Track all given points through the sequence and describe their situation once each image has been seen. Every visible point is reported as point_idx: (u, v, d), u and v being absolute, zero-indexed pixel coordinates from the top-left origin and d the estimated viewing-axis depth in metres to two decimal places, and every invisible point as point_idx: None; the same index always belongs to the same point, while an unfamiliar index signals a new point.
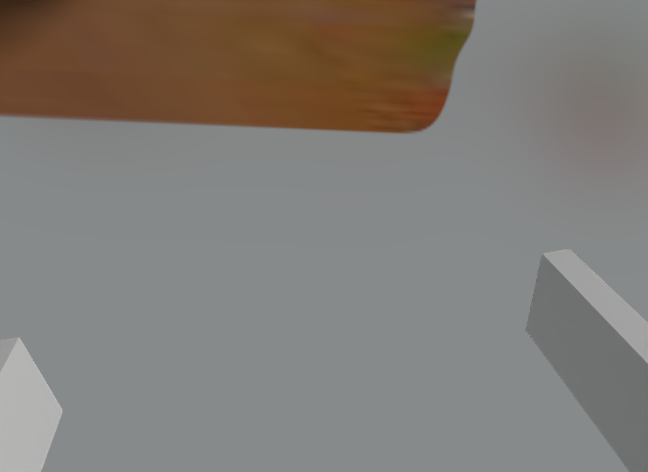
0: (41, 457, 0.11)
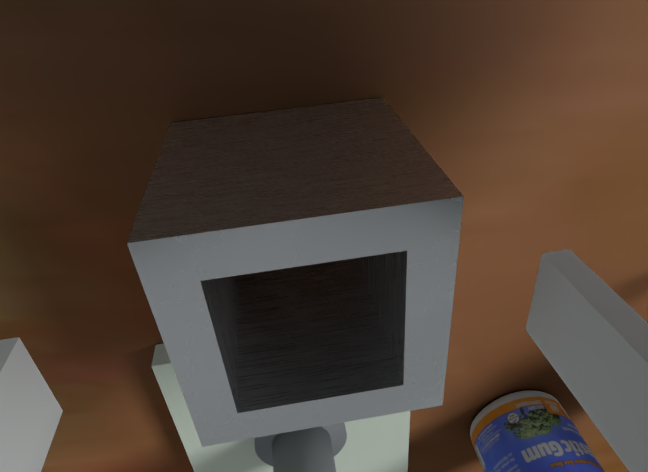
0: (41, 457, 0.11)
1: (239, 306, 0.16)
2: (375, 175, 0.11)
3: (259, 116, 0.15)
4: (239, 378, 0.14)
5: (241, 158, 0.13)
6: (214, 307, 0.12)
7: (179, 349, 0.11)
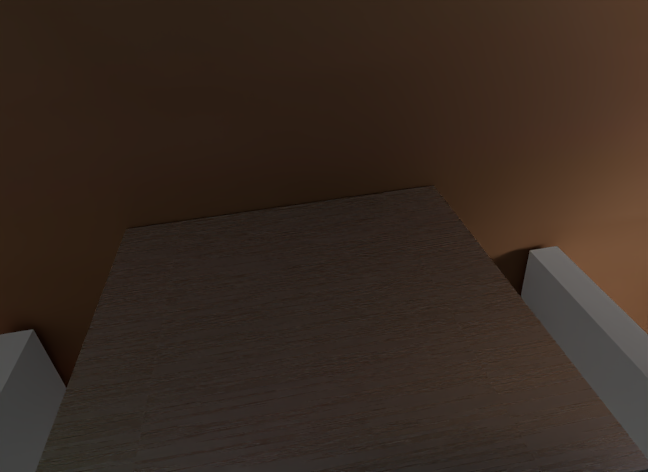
0: None
1: None
2: (464, 386, 0.06)
3: (256, 220, 0.10)
4: None
5: (228, 322, 0.08)
6: None
7: None
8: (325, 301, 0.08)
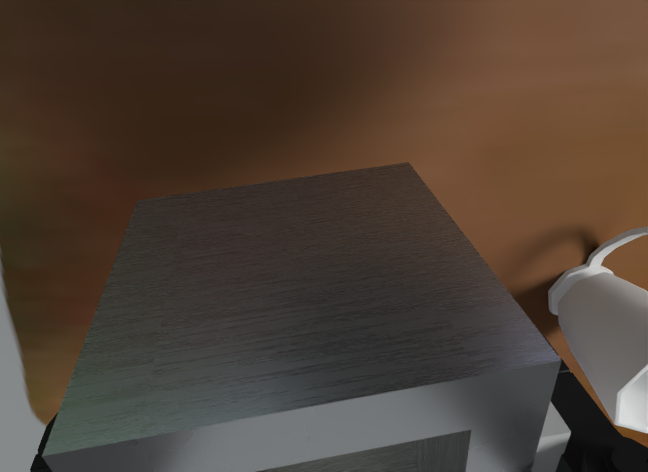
0: None
1: None
2: (419, 310, 0.08)
3: (252, 191, 0.12)
4: None
5: (227, 269, 0.09)
6: None
7: None
8: (309, 252, 0.09)
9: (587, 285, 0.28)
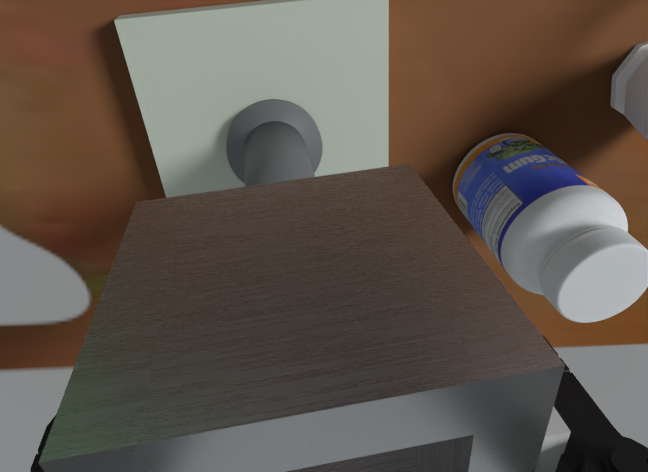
0: None
1: None
2: (420, 313, 0.08)
3: (251, 193, 0.12)
4: None
5: (227, 271, 0.09)
6: None
7: None
8: (309, 254, 0.09)
9: None
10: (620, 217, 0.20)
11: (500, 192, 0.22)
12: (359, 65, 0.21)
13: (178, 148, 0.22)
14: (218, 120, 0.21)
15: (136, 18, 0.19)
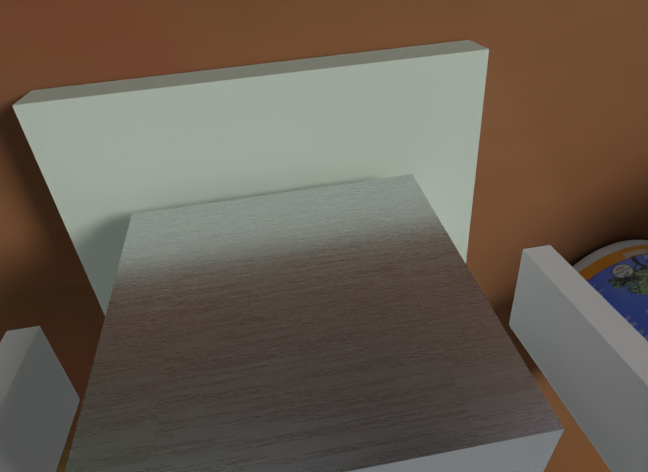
0: (61, 443, 0.11)
1: None
2: (422, 362, 0.08)
3: (250, 206, 0.11)
4: None
5: (228, 305, 0.09)
6: None
7: None
8: (311, 286, 0.09)
9: None
10: None
11: None
12: (431, 163, 0.13)
13: None
14: None
15: (53, 101, 0.11)
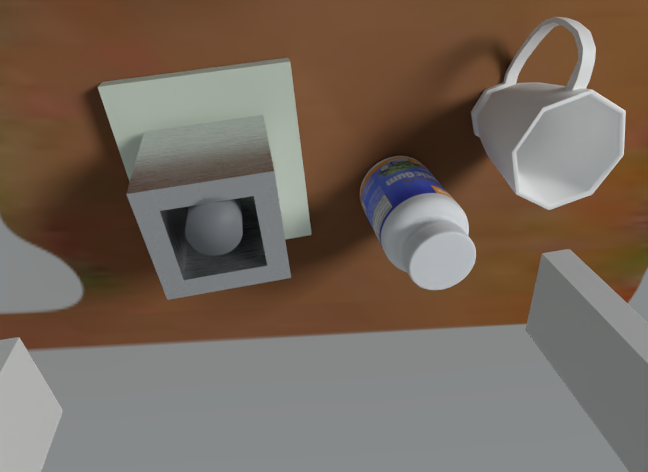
0: (41, 457, 0.11)
1: None
2: (240, 161, 0.24)
3: (193, 127, 0.28)
4: (185, 266, 0.27)
5: (180, 153, 0.25)
6: (168, 225, 0.24)
7: (152, 244, 0.24)
8: (210, 147, 0.25)
9: (499, 92, 0.30)
10: (457, 214, 0.28)
11: (381, 199, 0.30)
12: (274, 111, 0.29)
13: None
14: None
15: (113, 85, 0.27)
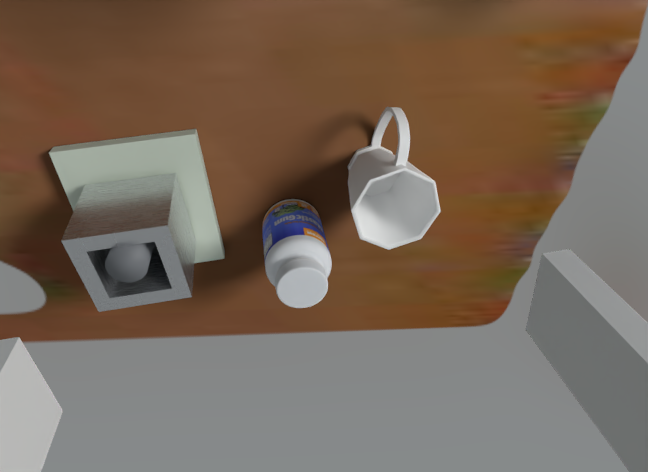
0: (41, 457, 0.11)
1: None
2: (146, 216, 0.33)
3: (121, 182, 0.37)
4: (113, 287, 0.36)
5: (106, 206, 0.34)
6: (95, 260, 0.34)
7: (83, 274, 0.34)
8: (129, 202, 0.35)
9: (362, 155, 0.39)
10: (318, 252, 0.37)
11: (268, 236, 0.39)
12: (186, 169, 0.38)
13: None
14: None
15: (60, 151, 0.36)
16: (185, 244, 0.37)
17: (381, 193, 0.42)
